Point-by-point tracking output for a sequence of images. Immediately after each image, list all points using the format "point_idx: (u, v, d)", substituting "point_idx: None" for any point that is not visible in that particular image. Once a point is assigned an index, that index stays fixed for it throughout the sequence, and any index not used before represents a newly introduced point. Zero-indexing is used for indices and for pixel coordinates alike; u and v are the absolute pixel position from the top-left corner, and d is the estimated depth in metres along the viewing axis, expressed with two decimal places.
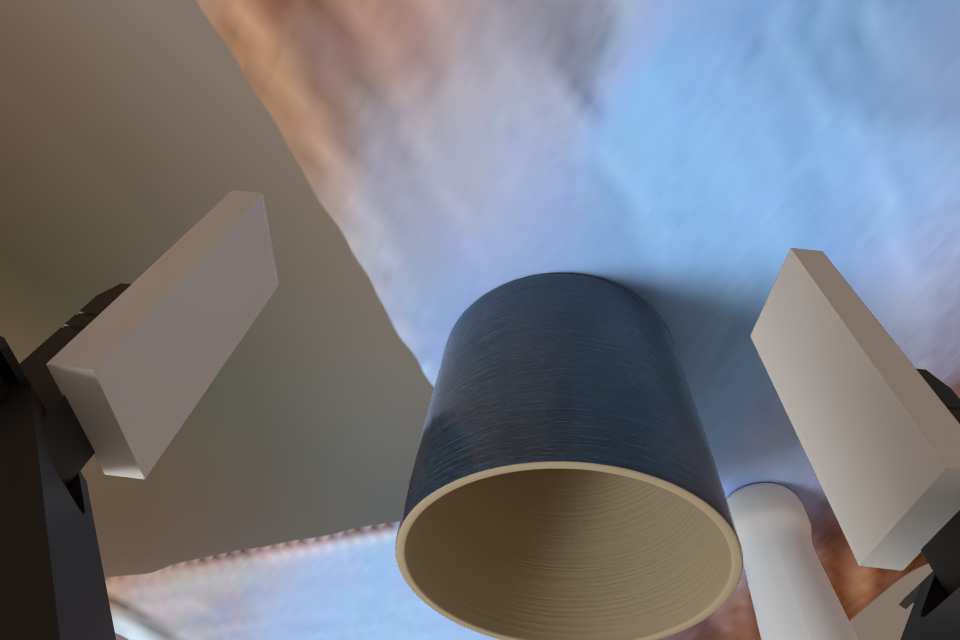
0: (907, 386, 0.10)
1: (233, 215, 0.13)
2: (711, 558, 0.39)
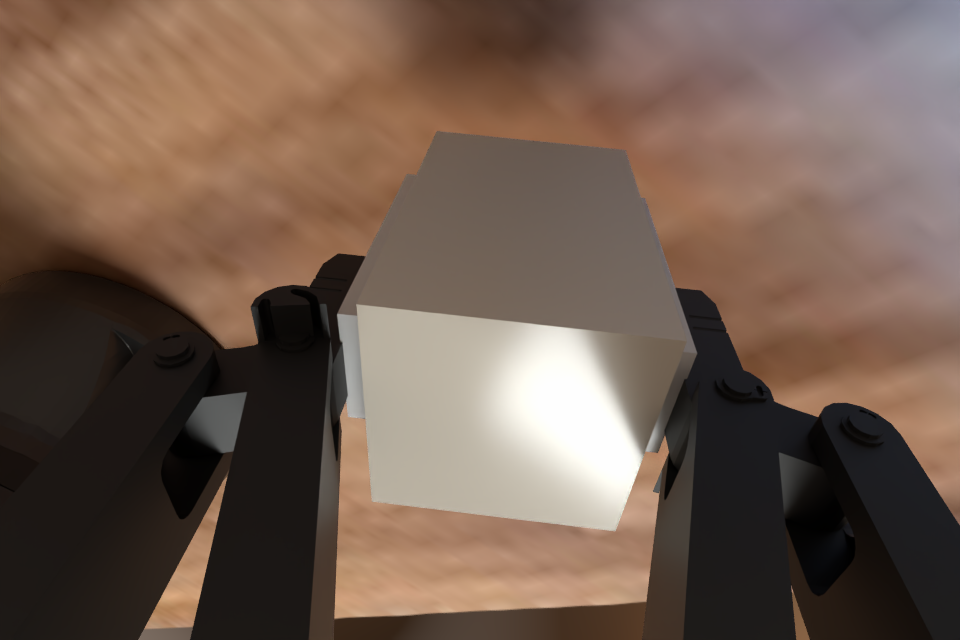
0: None
1: None
2: None
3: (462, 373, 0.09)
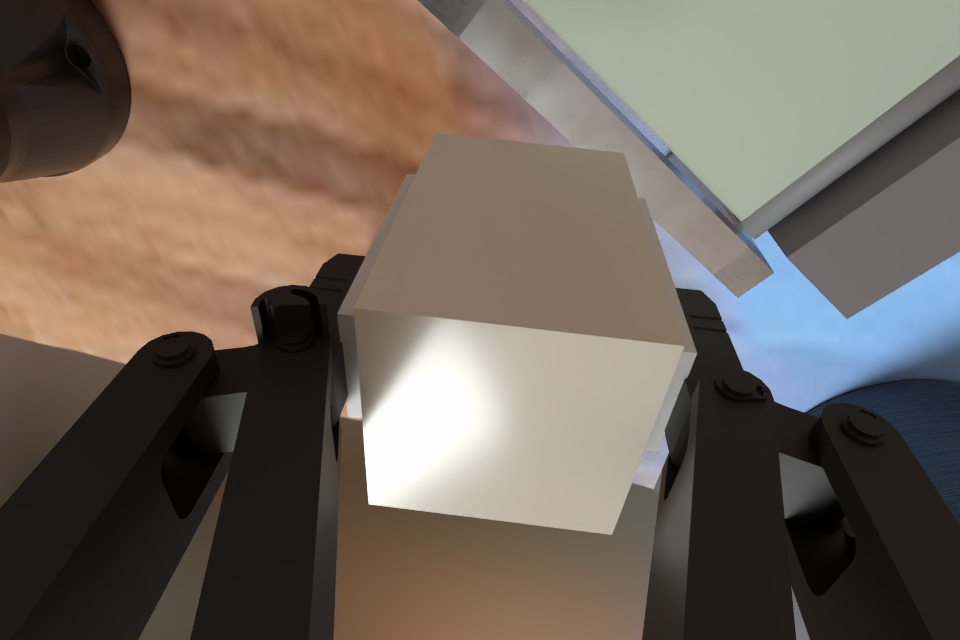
0: None
1: None
2: None
3: (459, 376, 0.09)
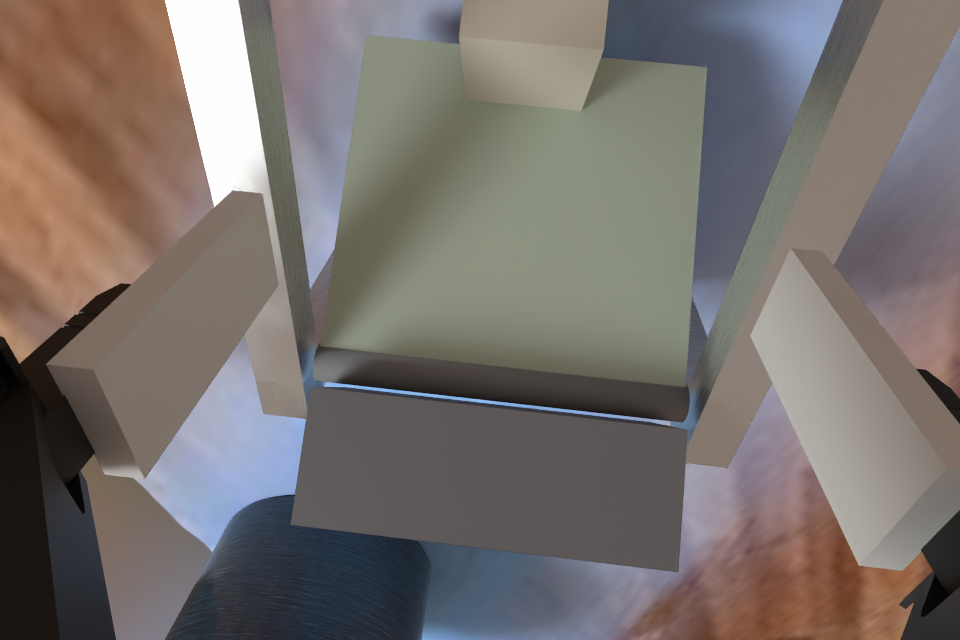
0: (907, 386, 0.10)
1: (233, 214, 0.13)
2: None
3: None
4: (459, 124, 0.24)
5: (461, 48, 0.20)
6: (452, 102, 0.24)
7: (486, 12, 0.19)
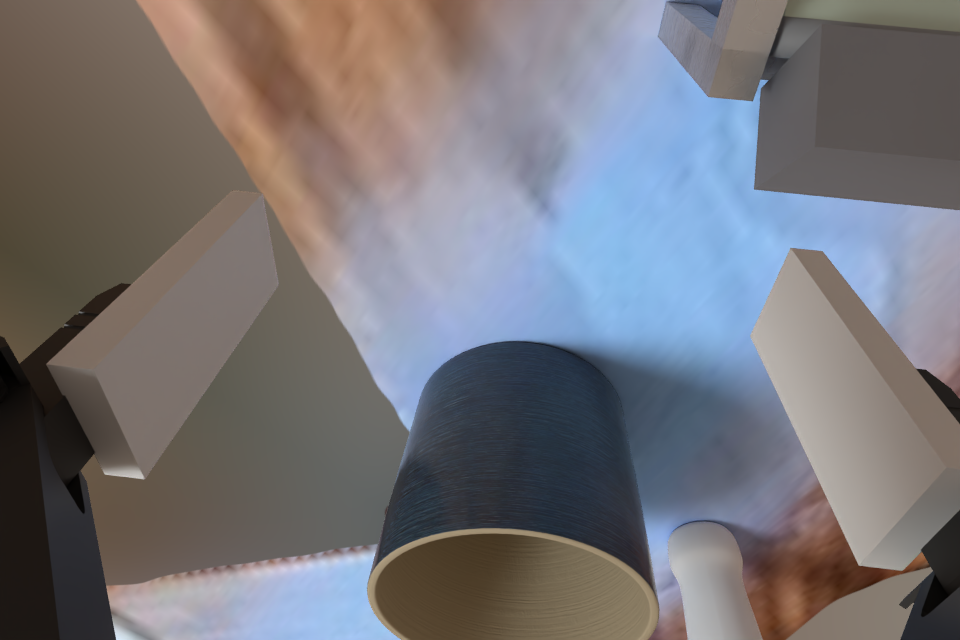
0: (907, 386, 0.10)
1: (233, 215, 0.13)
2: (638, 601, 0.45)
3: None
4: None
5: None
6: None
7: None
